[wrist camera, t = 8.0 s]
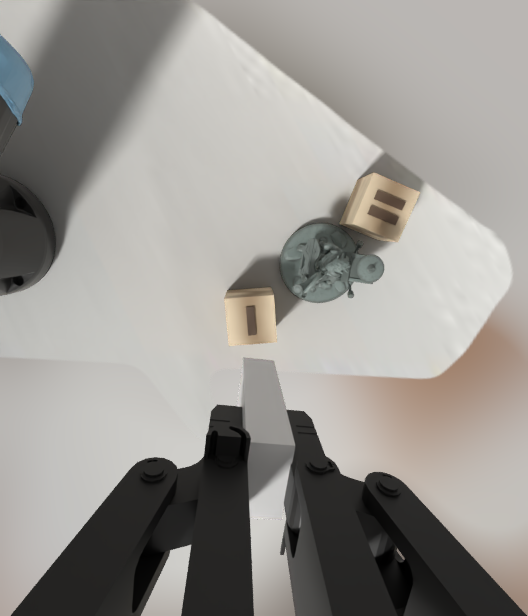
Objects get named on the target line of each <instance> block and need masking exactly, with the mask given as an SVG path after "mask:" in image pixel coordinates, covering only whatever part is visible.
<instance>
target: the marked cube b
mask: <svg viewBox="0 0 528 616" xmlns="http://www.w3.org/2000/svg"><path fill="white" fill-rule="evenodd" d="M419 195H420V192H418V191H416V190H414V189H411V188H409V187H407V186H404V185H402V184H400V183H397V182H395V181H393V180H390V179H388V178H386V177H383V176H381V175H379V174H376V173H371V174H369V175H367V176H365V177H363V178H360V179H358V180H357V182H356V185H355V187H354V189H353V192H352V194H351V197H350V199H349V201H348V204H347V206H346V209H345V211H344V213H343V216H342V218H341V221H340V223H339V224H340V225H342V226H345V227H347V228H350V229H352V230H355V231H357V232H360V233H362V234H364V235H367V236H369V237H372V238H374V239H377V240H379V241H391V242H398V241H399V239H400V236H401V234H402V232H403V230H404V228H405V225H406V223H407V221H408V219H409V217H410V214H411V212H412V210H413V208H414V206H415V203H416V201H417V199H418V197H419Z"/></svg>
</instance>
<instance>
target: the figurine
mask: <svg viewBox="0 0 528 616" xmlns="http://www.w3.org/2000/svg"><path fill="white" fill-rule="evenodd" d="M362 245H363V242H362V241H358V242H357V244H356V245H355V243H354V241H353V240H352V238H351V237H350V236H349V235H348V234H347V233H346V232H345V231H343V230H342V229H340V228H339V227H337V226H334V225H331V224H325V223H317V224H311V225H307V226H305V227H303V228H301V229H299V230H297V231H296V232H295V233H294V234H293V235H292V236H291V237H290V238H289V239H288V240H287V242H286V243H285V245H284V247H283V250H282V252H281V256H280V272H281V276H282V278H283V281H284V283H285V284H286V286H287V287H288V289H289V290H290V291H291V292H292V293H293V294H294V295H296V296H297V297H299V298H300V299H302V300H305V301H308V302H313V303H323V302H328V301H331V300H334V299H336V298H338V297H340V296H341V295H342V294H344V293H345V292H346V291H347V290H348V289H349V292H348V297H349V298H353V297H354V293H353V291H352V290H351V285H352V284H353V282H360V283H367V284H373V282H375V281H377V280H379V279H380V278H381V276H382V275H383V272H384V264H383V261H382V260H381V259H380V258H379V257H378V256H376V255H362V254H358V249H359V248H361V247H362Z"/></svg>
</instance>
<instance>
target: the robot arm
mask: <svg viewBox="0 0 528 616" xmlns="http://www.w3.org/2000/svg"><path fill="white" fill-rule="evenodd" d="M33 86H34V80H33V76H32V73H31V70H30V68H29V67H28V65H27V63H26V62H25V60H24V59H23V58H22V56H21V55H20V54H19V53H18V52H17V51H16V50H15V49H14V48H13V47H12V46H11V45H10V44H9V43H8V42H7V41H6V40H5V39H4V38H3V37H2V36H1V35H0V156H1V154H2V152H3V150H4V148H5V146H6V144H7V142H8V140H9V139H10V137H11V135H12V133H13V131H14V129H15V127H16V125H18V126H20V125H21V123H22V113H23V111H24V109H25V107H26V104H27V102H28V100H29V98H30V96H31V93H32V91H33ZM54 253H55V233H54V228H53V225H52V222H51V219H50V217H49V215H48V213H47V211H46V209H45V208H44V206H43V205H42V203H41V202H40V201H39V200H38V198H37V197H36V196H35V195H34V194H33V193H32V192H31V191H30V190H28V189H27V188H26V187H24V186H23V185H22V184H20V183H18V182H17V181H15V180H13V179H10V178H8V177H5V176H2V175H0V296H2V295H7V294H11V293H15V292H19V291H22V290H25V289H27V288H29V287H31V286H33V285H34V284H36V283H37V282H38V281H39V280H40V279H41V278H42V277H43V276H44V275H45V274H46V272H47V271H48V269H49V267H50V265H51V263H52V260H53V257H54ZM284 507H285V512H286V524H285V529H284V534H283V539H282V545H281V552H280V554H281V555H284V552H285V547H286V552H287V558H288V566H289V572H290V580H291V587H292V593H293V601H294V607H295V614H296V616H527V615H526V614H525V613H524V612H523V611H522V610H521V609H520V608H519V607H518V605H517V604H516V603H515V602H514V601H513V600H512V599H511V598H510V597H509V596H508V595H507V594H506V593H505V591H504V590H503V589H502V588H501V587H500V586H499V585H498V584H497V583H496V582H495V581H494V580H493V578H491V576H490V575H489V574H488V573H487V572H486V571H485V570H484V569H483V568H482V567H481V566H480V565H479V563H478V562H477V561H476V560H475V559H474V558H473V557H472V556H471V555H470V554H469V553H468V552H467V551H466V549H465V548H464V547H463V546H462V545H461V544H460V543H459V542H458V541H457V540H456V539H455V538H454V536H453V535H452V534H451V533H450V532H449V531H448V530H447V529H446V528H445V527H444V526H443V524H442V523H441V522H440V521H439V520H438V519H437V518H436V517H435V516H434V515H433V514H432V513H431V512H430V510H429V509H428V508H427V507H426V506H425V505H424V504H423V503H422V502H421V501H420V500H419V499H418V497H417V496H415V494H414V493H413V492H412V491H411V490H410V489H409V488H408V487H407V486H406V485H405V484H404V483H403V482H402V481H401V480H399V479H397V478H396V477H394V476H392V475H390V474H387V473H383V472H373V473H370V474H368V475H367V477H366V478H365V482H361V481H358V480H355V479H352V478H348V477H346V476H344V475H342V474H340V471H339V469H338V467H337V465H336V464H335V463H334V462H333V461H332V460H331V459H329V458H328V457H326V456H325V454H324V451H323V449H322V446H321V443H320V441H319V438H318V436H317V432H316V430H315V428H314V424H313V422H312V419H311V418H310V417H309V416H308V415H307V414H306V413H305V412H304V411H294V410H286V406H285V403H284V399H283V395H282V391H281V387H280V383H279V379H278V375H277V371H276V367H275V363H274V361H272V360H262V359H253V358H243V364H242V372H241V379H240V387H239V394H238V402H237V406H227V405H217V406H216V407H215V408H214V409H213V410H212V411H211V417H210V424H209V430H208V433H207V435H206V445H205V454H204V457H203V458H202V459H201V460H200V461H199V462H198V463H196V464H194V465H192V466H189V467H185V468H180V469H177V467H176V465H175V464H173V462H172V461H170V460H167V459H165V458H157V457H154V458H148V459H145V460H142V461H140V462H138V463H136V464H135V465H134V466H133V467H132V468H131V469H130V470H129V471H128V473H127V474H126V475H125V476H124V478H123V479H122V480H121V481H120V482H119V483H118V485H117V486H116V487H115V488H114V490H113V491H112V492H111V493H110V495H109V496H108V497H107V498H106V499H105V501H104V502H103V503H102V504H101V506H100V507H99V508H98V509H97V510H96V512H95V513H94V514H93V515H92V517H91V518H90V519H89V520H88V522H87V523H86V524H85V525H84V526H83V528H82V529H81V530H80V531H79V532H78V534H77V535H76V536H75V538H74V539H73V540H72V541H71V542H70V544H69V545H68V546H67V547H66V549H65V550H64V551H63V552H62V553H61V555H60V556H59V557H58V558H57V560H56V561H55V562H54V563H53V564H52V566H51V567H50V568H49V570H47V572H46V573H45V574H44V576H43V577H42V578H41V579H40V580H39V582H38V583H37V584H36V586H34V588H33V589H32V590H31V591H30V593H29V594H28V595H27V596H26V597H25V599H24V600H23V601H22V603H21V604H20V605H19V606H18V607H17V608H16V610H15V611H14V612H13V613H12V615H11V616H141V613H142V611H143V609H144V607H145V605H146V603H147V601H148V599H149V597H150V595H151V592H152V590H153V588H154V586H155V584H156V582H157V580H158V578H159V576H160V574H161V571H162V569H163V567H164V565H165V563H166V561H167V559H168V557H169V553H170V550H173V549H176V548H180V547H184V546H187V545H191V544H192V545H191V552H190V559H189V566H188V573H187V580H186V587H185V593H184V600H183V608H182V615H181V616H254V609H253V584H252V560H251V537H250V518H258V519H275V520H276V519H277V520H282V517H283V511H284ZM397 548H398V549H399V551H400V552H401V554H402V555H403V556H404V558H405V560H403V559H402V558H401V556H400V555H399V554H398V552H397Z"/></svg>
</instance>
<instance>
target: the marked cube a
mask: <svg viewBox="0 0 528 616" xmlns="http://www.w3.org/2000/svg"><path fill="white" fill-rule="evenodd" d="M224 301H225V311H226V321H227V332H228V342H229V346H235V345H248V344H260V343H273V342H277V335H276V319H275V303H274V294H273V291H272V289H271V287H264V288H251V289H238V290H227V293H226V295H225V298H224Z"/></svg>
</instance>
